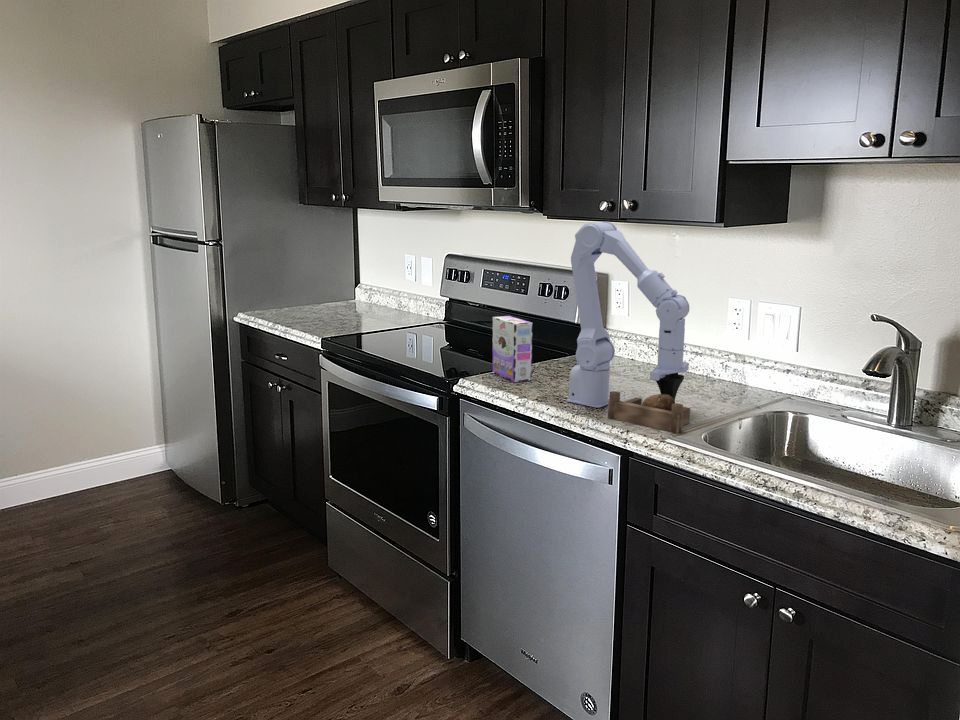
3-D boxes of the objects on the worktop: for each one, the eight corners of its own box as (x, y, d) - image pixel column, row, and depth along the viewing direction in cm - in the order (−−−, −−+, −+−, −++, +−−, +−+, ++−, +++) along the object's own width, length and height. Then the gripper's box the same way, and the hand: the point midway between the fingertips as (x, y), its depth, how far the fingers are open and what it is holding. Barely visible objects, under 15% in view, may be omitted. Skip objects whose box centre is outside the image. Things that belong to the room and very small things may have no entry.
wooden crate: (606, 417, 193) (607, 392, 192) (627, 409, 200) (628, 385, 199) (678, 433, 181) (679, 406, 180) (698, 424, 188) (699, 399, 187)
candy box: (532, 381, 229) (533, 322, 225) (513, 383, 226) (514, 323, 223) (509, 371, 241) (510, 314, 238) (491, 372, 238) (491, 316, 235)
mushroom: (673, 399, 197) (664, 381, 193) (685, 420, 190) (676, 402, 186) (642, 414, 198) (633, 397, 194) (653, 436, 191) (644, 418, 188)
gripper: (670, 355, 185) (667, 414, 187) (701, 346, 195) (698, 402, 198) (643, 350, 189) (640, 408, 192) (674, 342, 200) (671, 397, 203)
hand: (667, 405), depth 195 cm, fingers closed
